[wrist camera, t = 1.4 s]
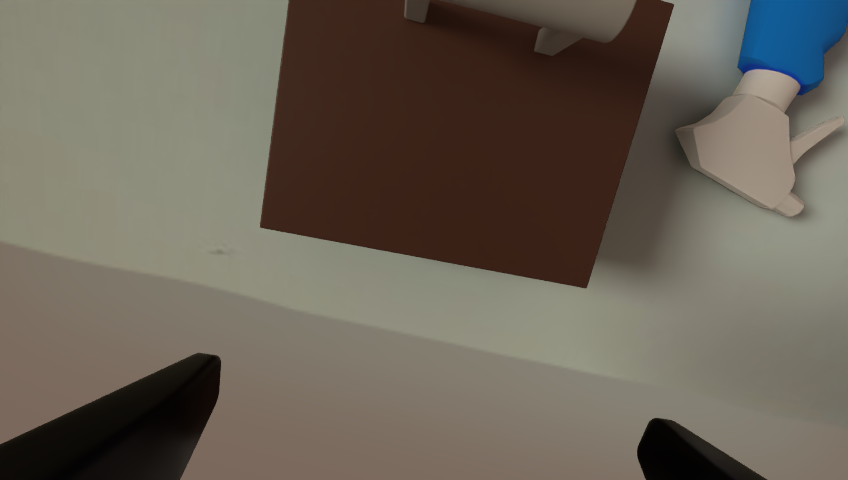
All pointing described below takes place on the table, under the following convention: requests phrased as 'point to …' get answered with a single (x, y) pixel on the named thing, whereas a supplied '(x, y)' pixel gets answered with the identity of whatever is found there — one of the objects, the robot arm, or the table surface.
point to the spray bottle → (768, 102)
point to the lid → (460, 126)
